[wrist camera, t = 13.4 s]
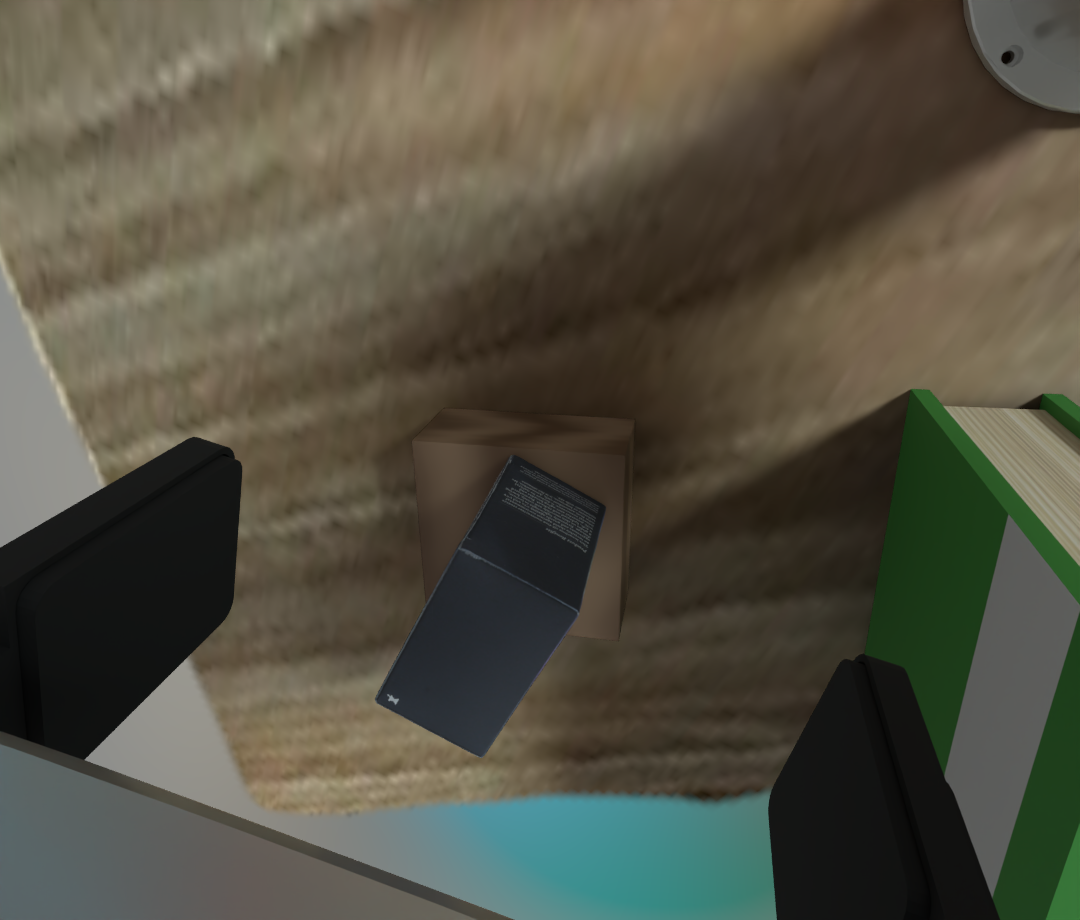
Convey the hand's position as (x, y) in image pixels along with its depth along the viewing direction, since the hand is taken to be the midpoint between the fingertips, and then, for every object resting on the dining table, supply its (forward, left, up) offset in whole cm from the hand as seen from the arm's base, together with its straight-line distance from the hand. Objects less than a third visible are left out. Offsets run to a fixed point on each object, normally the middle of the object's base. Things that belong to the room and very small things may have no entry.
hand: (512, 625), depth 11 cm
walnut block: (+3, +16, -34) cm, 37 cm away
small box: (+3, +16, -28) cm, 32 cm away
